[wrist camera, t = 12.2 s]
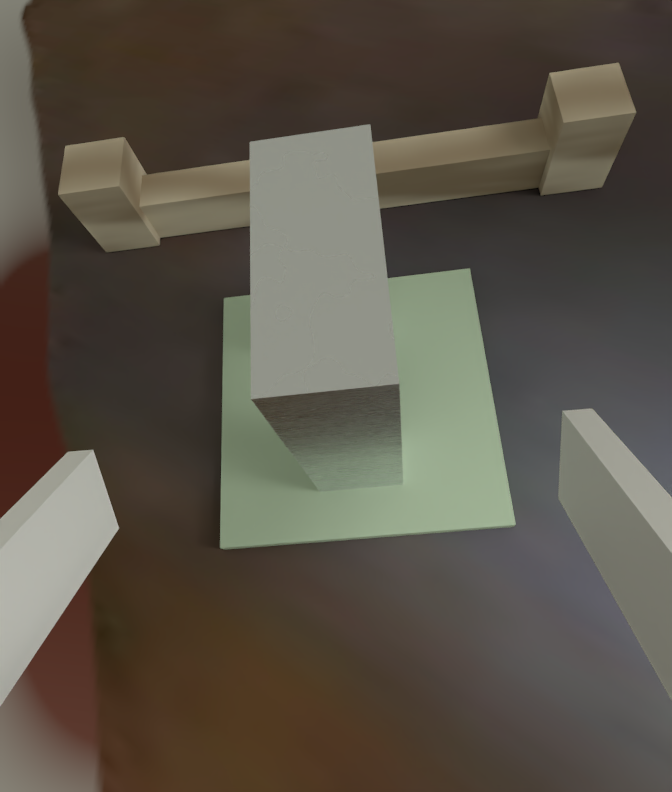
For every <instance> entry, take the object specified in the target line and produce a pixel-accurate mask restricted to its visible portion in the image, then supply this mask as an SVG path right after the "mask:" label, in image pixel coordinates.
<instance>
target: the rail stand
mask: <svg viewBox="0 0 672 792" xmlns="http://www.w3.org/2000/svg"><path fill="white" fill-rule="evenodd" d="M635 114H636V110H635V107H634V105H633V102H632V99H631V96H630V93H629V90H628V88H627V85H626V82H625V79H624V76H623V73H622V71H621V68H620V65H619V63H613V64H606V65H600V66H593V67H586V68H580V69H573V70H566V71H560V72H553V73H549V77H548V81H547V84H546V88H545V92H544V96H543V100H542V103H541V107H540V111H539V115H538V119H531V120H524V121H517V122H510V123H503V124H496V125H489V126H482V127H475V128H468V129H461V130H455V131H448V132H441V133H434V134H427V135H420V136H413V137H406V138H399V139H392V140H385V141H378V142H372V144H373V153H374V162H375V171H376V180H377V189H378V198H379V207H380V209H382V208H389V207H397V206H404V205H412V204H420V203H427V202H435V201H442V200H450V199H457V198H465V197H472V196H480V195H487V194H495V193H503V192H510V191H518V190H525V189H533V188H539V191H540V195H548V194H556V193H564V192H571V191H579V190H586V189H594V188H602V186H603V184H604V182H605V180H606V178H607V175H608V173H609V171H610V169H611V167H612V164H613V162H614V160H615V158H616V156H617V154H618V151H619V149H620V147H621V145H622V143H623V140H624V138H625V136H626V134H627V132H628V129H629V127H630V125H631V123H632V121H633V119H634V116H635ZM58 196H59V197H60V198H61V199H62V200H63V201H64V203H65V204H66V205H67V206H68V207H69V209H70V210H71V211H72V212H73V213H74V215H75V216H76V217H77V218H78V219H79V220H80V222H81V223H82V224H83V225H84V226H85V228H86V229H87V230H88V231H89V232H90V233H91V235H92V236H93V237H94V238H95V239H96V241H97V242H98V243H99V244H100V245H101V247H102V248H103V249H104V250H105V251H106V252H114V251H122V250H129V249H137V248H145V247H152V246H160V238H163V237H171V236H178V235H186V234H193V233H201V232H208V231H216V230H223V229H231V228H239V227H246V226H250V160H246V161H239V162H232V163H225V164H218V165H211V166H204V167H197V168H190V169H183V170H176V171H169V172H162V173H155V174H148V175H147V174H146V172H145V171H144V169H143V167H142V166H141V164H140V162H139V161H138V159H137V157H136V156H135V154H134V152H133V151H132V149H131V147H130V146H129V144H128V142H127V141H126V139H125V137H121V138H115V139H108V140H102V141H95V142H88V143H82V144H75V145H68V146H65V152H64V159H63V165H62V171H61V178H60V184H59V191H58Z"/></svg>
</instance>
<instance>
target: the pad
mask: <svg viewBox="0 0 672 792" xmlns="http://www.w3.org/2000/svg"><path fill="white" fill-rule="evenodd" d="M388 287H389V296H390V305H391V314H392V323H393V332H394V340H395V349H396V358H397V367H398V376H399V387H400V412H401V438H402V463H403V485H392V486H381V487H369V488H357V489H346V490H334V491H323V492H320V491H319V490H318V489H317V487H316V486H315V484H314V483H313V482H312V480H311V479H310V478H309V476H308V475H307V474H306V472H305V471H304V470H303V468H302V467H301V466H300V464H299V463H298V462H297V460H296V459H295V458H294V456H293V455H292V454H291V452H290V451H289V450H288V448H287V447H286V446H285V444H284V443H283V442H282V440H281V439H280V438H279V436H278V435H277V434H276V432H275V431H274V429H273V428H272V427H271V425H270V424H269V423H268V421H267V420H266V419H265V417H264V416H263V415H262V413H261V412H260V411H259V409H258V408H257V407H256V405H255V404H254V403H253V401H252V400H251V323H250V295H245V296H237V297H229V298H224V315H223V381H222V447H221V513H220V548H221V549H224V550H226V549H239V548H252V547H264V546H277V545H290V544H302V543H315V542H328V541H340V540H353V539H366V538H379V537H391V536H404V535H417V534H429V533H442V532H455V531H467V530H480V529H493V528H506V527H514V526H515V525H516V524H515V518H514V513H513V507H512V502H511V496H510V490H509V485H508V479H507V474H506V468H505V462H504V457H503V451H502V446H501V440H500V434H499V429H498V423H497V418H496V412H495V407H494V401H493V395H492V390H491V384H490V379H489V373H488V367H487V362H486V356H485V351H484V345H483V339H482V334H481V328H480V323H479V317H478V312H477V306H476V300H475V295H474V289H473V284H472V278H471V272H470V268H468V269H460V270H452V271H444V272H435V273H427V274H419V275H411V276H402V277H394V278H388Z"/></svg>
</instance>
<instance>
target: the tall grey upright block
mask: <svg viewBox="0 0 672 792" xmlns="http://www.w3.org/2000/svg"><path fill="white" fill-rule="evenodd" d="M250 323H251V400H252V401H253V403H254V404H255V405H256V407H257V408H258V409H259V411H260V412H261V413H262V415H263V416H264V417H265V419H266V420H267V421H268V423H269V424H270V425H271V427H272V428H273V429H274V431H275V432H276V434H277V435H278V436H279V438H280V439H281V440H282V442H283V443H284V444H285V446H286V447H287V448H288V450H289V451H290V452H291V454H292V455H293V456H294V458H295V459H296V460H297V462H298V463H299V464H300V466H301V467H302V468H303V470H304V471H305V472H306V474H307V475H308V476H309V478H310V479H311V480H312V482H313V483H314V484H315V486H316V487H317V489H318V490H319V491H320V492H323V491H334V490H346V489H357V488H369V487H381V486H392V485H403V463H402V438H401V412H400V387H399V376H398V367H397V358H396V349H395V340H394V332H393V323H392V314H391V305H390V296H389V287H388V278H387V269H386V260H385V251H384V242H383V233H382V224H381V216H380V207H379V198H378V189H377V180H376V171H375V162H374V153H373V144H372V135H371V126H370V124H369V125H362V126H355V127H348V128H341V129H334V130H328V131H321V132H314V133H307V134H300V135H293V136H286V137H280V138H273V139H266V140H259V141H252V142H250Z"/></svg>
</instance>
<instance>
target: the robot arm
mask: <svg viewBox="0 0 672 792" xmlns="http://www.w3.org/2000/svg"><path fill="white" fill-rule="evenodd" d="M558 498H559V500H560V502H561V504H562V506H563V507H564V509H565V511H566V513H567V515H568V516H569V518H570V520H571V522H572V523H573V525H574V527H575V529H576V531H577V532H578V534H579V536H580V538H581V540H582V541H583V543H584V545H585V547H586V549H587V550H588V552H589V554H590V556H591V557H592V559H593V561H594V563H595V565H596V566H597V568H598V570H599V572H600V574H601V575H602V577H603V579H604V581H605V582H606V584H607V586H608V588H609V590H610V591H611V593H612V595H613V597H614V599H615V600H616V602H617V604H618V606H619V607H620V609H621V611H622V613H623V615H624V616H625V618H626V620H627V622H628V624H629V625H630V627H631V629H632V631H633V632H634V634H635V636H636V638H637V640H638V641H639V643H640V645H641V647H642V649H643V650H644V652H645V654H646V656H647V658H648V659H649V661H650V663H651V665H652V666H653V668H654V670H655V672H656V674H657V675H658V677H659V679H660V681H661V683H662V684H663V686H664V688H665V690H666V691H667V693H668V695H669V697H670V699H671V700H672V497H671V496H670V495H669V494H668V493H667V492H666V491H665V489H664V488H663V487H662V486H661V485H660V484H659V483H658V482H657V480H656V479H655V478H654V477H653V476H652V475H651V474H650V473H649V472H648V470H647V469H646V468H645V467H644V466H643V465H642V464H641V463H640V461H639V460H638V459H637V458H636V457H635V456H634V455H633V454H632V452H631V451H630V450H629V449H628V448H627V447H626V446H625V445H624V444H623V442H622V441H621V440H620V439H619V438H618V437H617V436H616V435H615V433H614V432H613V431H612V430H611V429H610V428H609V427H608V426H607V424H606V423H605V422H604V421H603V420H602V419H601V418H600V417H599V416H598V414H597V413H596V412H595V411H594V410H593V409H592V408H591V409H579V410H567V411H562V430H561V451H560V472H559V494H558ZM118 529H119V527H118V524H117V521H116V517H115V514H114V511H113V508H112V505H111V502H110V499H109V496H108V493H107V490H106V487H105V484H104V481H103V478H102V475H101V472H100V469H99V466H98V463H97V460H96V457H95V454H94V451H93V450H84V451H72V452H67V453H66V454H65V455H64V456H63V457H62V458H61V459H60V460H59V461H58V462H57V463H56V464H55V465H54V466H53V467H52V468H51V469H50V470H49V471H48V472H47V473H46V474H45V475H44V476H43V477H42V478H41V479H40V480H39V481H38V482H37V483H36V484H35V485H34V486H33V487H32V488H31V489H30V490H29V491H28V492H27V493H26V494H25V495H24V496H23V497H22V498H21V499H20V500H19V501H18V502H17V503H16V504H15V505H14V506H13V507H12V508H11V509H10V510H9V511H8V512H7V513H6V514H5V515H4V516H3V517H2V518H1V519H0V706H1V705H2V703H3V702H4V700H5V699H6V697H7V696H8V694H9V693H10V691H11V690H12V688H13V687H14V685H15V684H16V682H17V681H18V679H19V678H20V676H21V675H22V673H23V672H24V670H25V668H26V667H27V666H28V664H29V663H30V661H31V660H32V658H33V657H34V655H35V654H36V652H37V651H38V649H39V648H40V646H41V645H42V643H43V642H44V640H45V639H46V637H47V636H48V634H49V633H50V631H51V629H52V628H53V627H54V625H55V624H56V622H57V621H58V619H59V617H60V616H61V615H62V613H63V612H64V610H65V609H66V607H67V606H68V604H69V603H70V601H71V600H72V598H73V597H74V595H75V594H76V592H77V591H78V589H79V588H80V586H81V585H82V583H83V582H84V580H85V579H86V577H87V576H88V574H89V573H90V571H91V570H92V568H93V567H94V565H95V564H96V562H97V561H98V559H99V558H100V556H101V555H102V553H103V552H104V550H105V549H106V547H107V546H108V544H109V543H110V541H111V540H112V538H113V537H114V535H115V534H116V532H117V531H118Z"/></svg>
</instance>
